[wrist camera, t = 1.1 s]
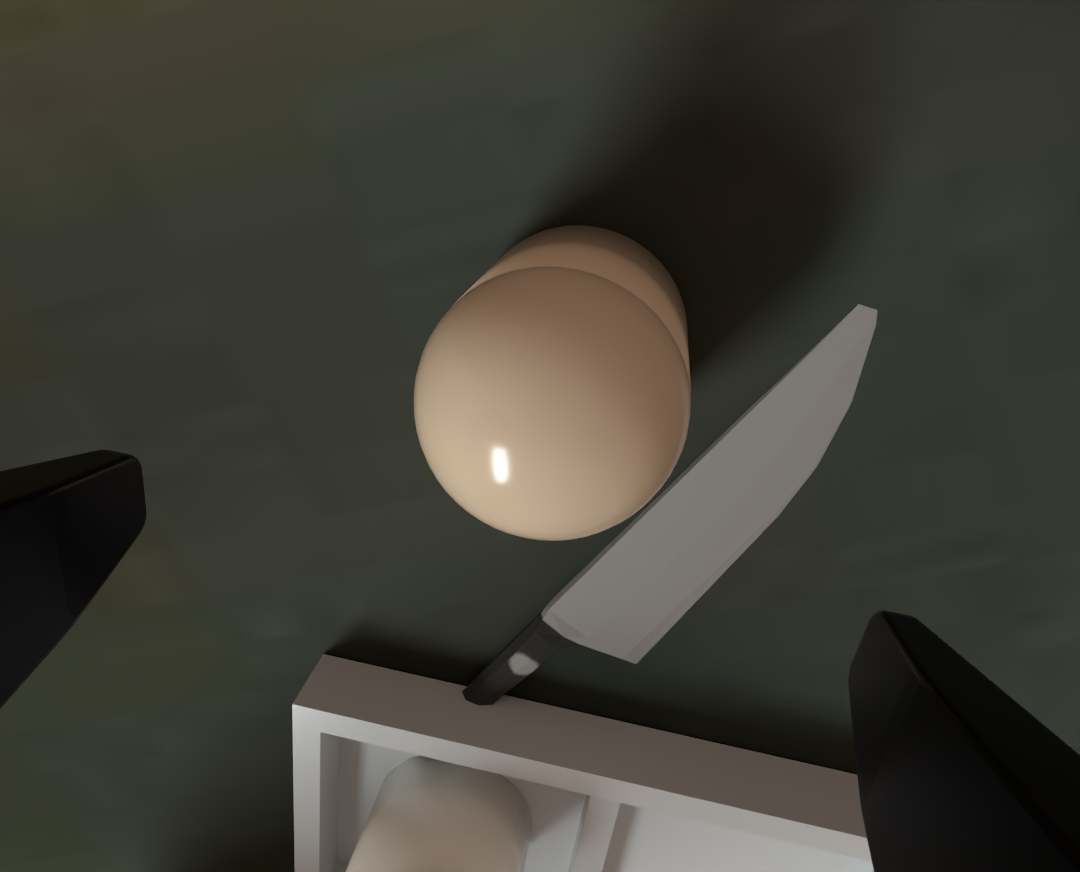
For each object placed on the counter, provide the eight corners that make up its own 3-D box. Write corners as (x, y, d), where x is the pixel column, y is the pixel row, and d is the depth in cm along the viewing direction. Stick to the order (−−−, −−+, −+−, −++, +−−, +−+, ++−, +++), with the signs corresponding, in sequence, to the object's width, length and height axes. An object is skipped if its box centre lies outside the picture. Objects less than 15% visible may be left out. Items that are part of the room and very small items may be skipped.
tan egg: (662, 450, 18) (656, 625, 12) (463, 412, 18) (366, 564, 12) (710, 246, 16) (731, 339, 10) (484, 207, 16) (378, 277, 10)
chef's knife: (1007, 333, 16) (907, 243, 15) (1032, 352, 15) (927, 256, 14) (488, 780, 24) (410, 732, 23) (482, 811, 23) (399, 762, 22)
